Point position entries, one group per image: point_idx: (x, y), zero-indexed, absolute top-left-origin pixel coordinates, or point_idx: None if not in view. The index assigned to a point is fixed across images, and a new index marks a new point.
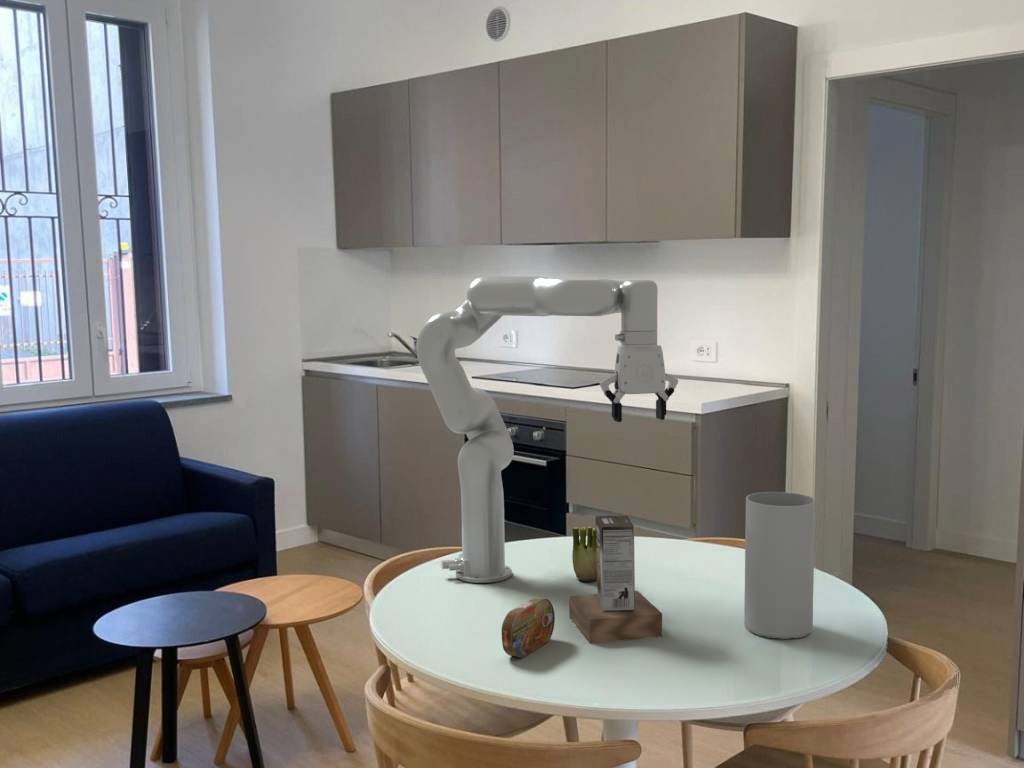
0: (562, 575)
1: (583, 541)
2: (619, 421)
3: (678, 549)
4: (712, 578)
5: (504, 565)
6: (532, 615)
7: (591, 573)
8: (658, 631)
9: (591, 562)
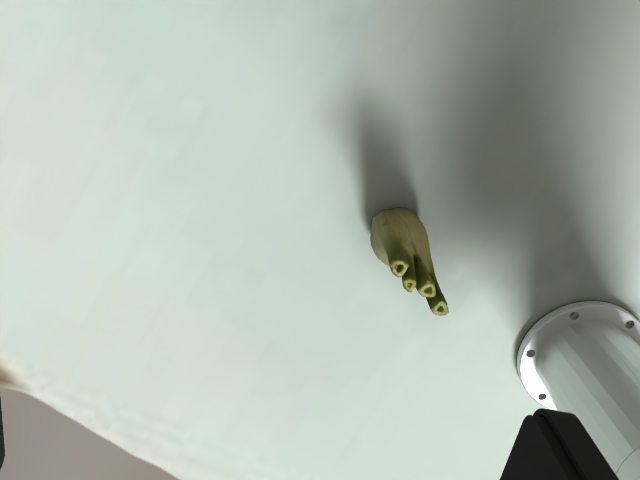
0: None
1: (425, 267)
2: (561, 411)
3: (76, 338)
4: (105, 104)
5: (553, 346)
6: None
7: (404, 212)
8: None
9: (404, 225)
